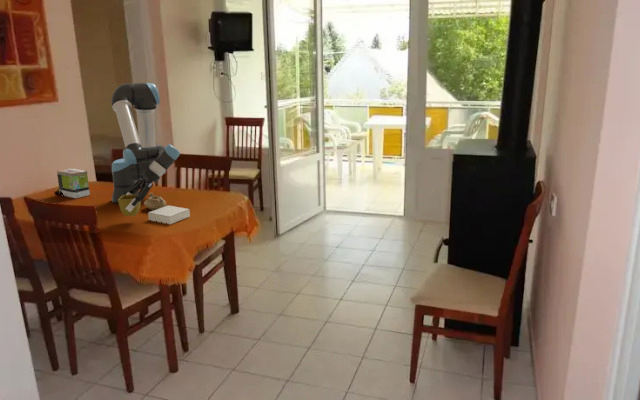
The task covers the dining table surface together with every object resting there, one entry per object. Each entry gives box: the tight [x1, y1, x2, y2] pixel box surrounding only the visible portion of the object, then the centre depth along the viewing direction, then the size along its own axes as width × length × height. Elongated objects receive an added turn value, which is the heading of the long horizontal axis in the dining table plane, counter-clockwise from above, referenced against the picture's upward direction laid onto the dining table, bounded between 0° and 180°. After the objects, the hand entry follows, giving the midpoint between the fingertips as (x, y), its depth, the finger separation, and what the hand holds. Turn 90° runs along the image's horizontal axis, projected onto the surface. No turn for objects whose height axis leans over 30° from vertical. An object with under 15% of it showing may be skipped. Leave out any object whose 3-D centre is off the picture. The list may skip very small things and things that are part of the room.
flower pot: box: [118, 195, 142, 217], centre depth 245 cm, size 9×9×9 cm
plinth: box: [147, 205, 191, 225], centre depth 252 cm, size 14×14×4 cm
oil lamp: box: [143, 192, 167, 211], centre depth 267 cm, size 11×15×8 cm
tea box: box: [56, 167, 91, 199], centre depth 293 cm, size 15×10×15 cm, turn 58°
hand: (124, 207), depth 243 cm, fingers closed on flower pot, 11 cm apart
